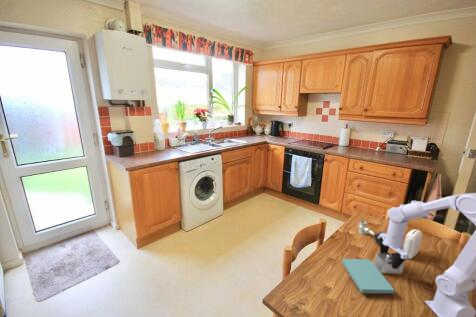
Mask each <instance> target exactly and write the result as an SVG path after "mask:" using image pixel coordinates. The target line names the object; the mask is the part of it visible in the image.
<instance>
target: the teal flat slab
mask: <svg viewBox="0 0 476 317" xmlns="http://www.w3.org/2000/svg"><path fill="white" fill-rule="evenodd" d="M341 263H342V264H343V266H344V268H345V269H346V270H347V272H348V274H349V276H350V277H351V278H352V280H353V281H354V283H355V285H356V286H357V288H358V290H359V291H360V293H361V294H363V295H365V294H369V295H371V294H372V295H389V294H395V289H394V287H393V286H392V285H391V283H389V281H388V280H387V279H386V277H385V276H384V275H383V273H380V271H379V270H378V269H377V268H376V266H375V265H374V262H372V261H371V259H367V258H342V260H341Z"/></svg>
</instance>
